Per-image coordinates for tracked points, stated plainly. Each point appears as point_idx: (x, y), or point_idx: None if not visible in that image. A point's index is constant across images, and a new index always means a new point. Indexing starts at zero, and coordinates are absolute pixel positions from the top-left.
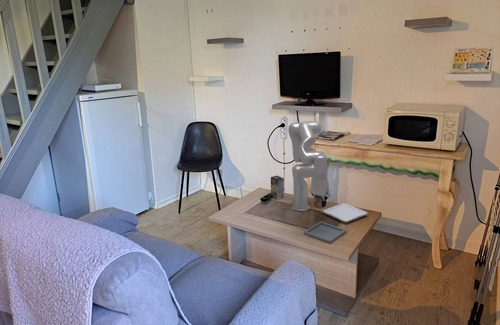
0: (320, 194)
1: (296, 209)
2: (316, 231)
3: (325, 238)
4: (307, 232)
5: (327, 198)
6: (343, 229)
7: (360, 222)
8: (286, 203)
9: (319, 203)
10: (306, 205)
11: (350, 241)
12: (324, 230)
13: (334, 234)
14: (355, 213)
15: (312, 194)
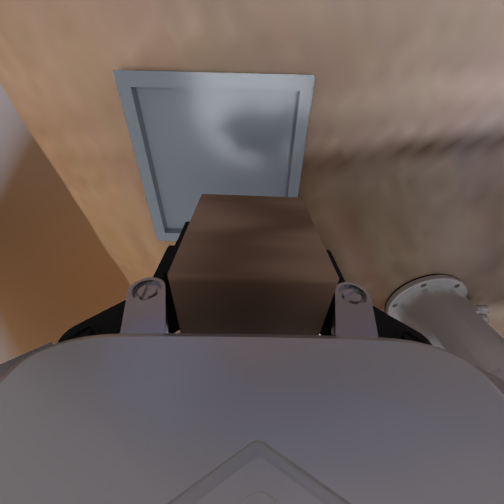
0: (130, 376)
1: (437, 278)
2: (262, 153)
3: (156, 84)
4: (288, 81)
5: (68, 333)
6: (167, 236)
7: None
8: (491, 301)
9: (213, 226)
10: (403, 315)
11: (87, 174)
12: (237, 188)
13: (175, 182)
14: None
15: (398, 336)
